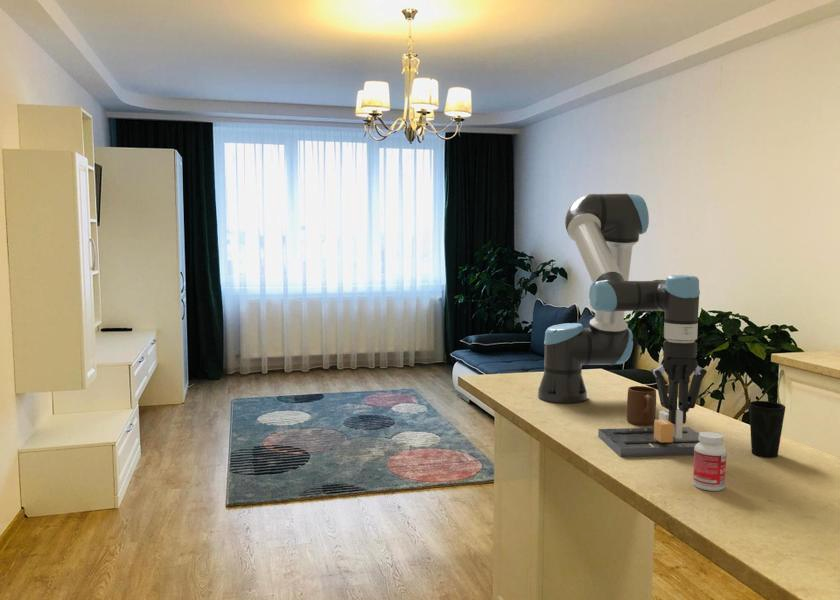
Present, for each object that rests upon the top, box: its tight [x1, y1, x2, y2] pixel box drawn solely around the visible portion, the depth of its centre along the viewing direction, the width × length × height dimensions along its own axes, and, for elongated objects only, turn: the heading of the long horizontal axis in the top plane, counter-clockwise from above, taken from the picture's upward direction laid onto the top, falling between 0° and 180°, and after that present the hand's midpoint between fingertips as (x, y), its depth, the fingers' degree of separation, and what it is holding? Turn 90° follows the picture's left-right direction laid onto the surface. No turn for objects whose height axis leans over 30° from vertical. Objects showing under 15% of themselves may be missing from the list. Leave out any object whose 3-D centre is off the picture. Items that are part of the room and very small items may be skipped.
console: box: [597, 426, 700, 458], centre depth 171 cm, size 16×24×2 cm, turn 94°
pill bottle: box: [692, 431, 727, 492], centre depth 143 cm, size 6×6×11 cm
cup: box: [748, 400, 786, 459], centre depth 163 cm, size 8×8×12 cm
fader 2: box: [653, 419, 674, 442], centre depth 166 cm, size 4×3×4 cm
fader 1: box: [658, 410, 669, 420], centre depth 175 cm, size 4×3×4 cm
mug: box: [626, 385, 657, 426], centre depth 188 cm, size 12×8×9 cm, turn 179°
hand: (676, 436), depth 167 cm, fingers closed
